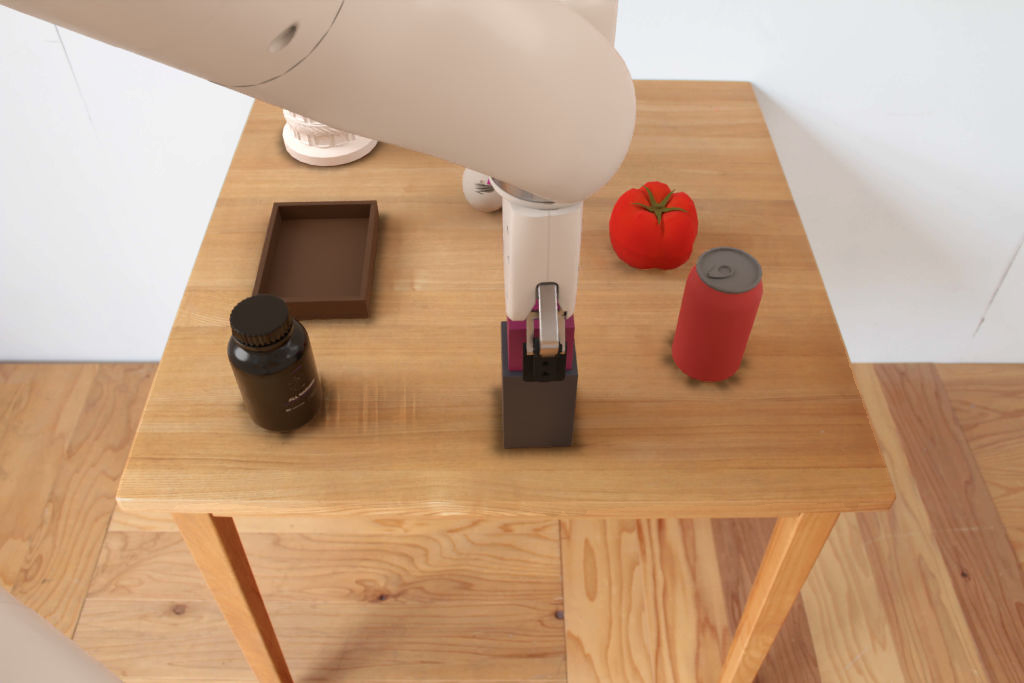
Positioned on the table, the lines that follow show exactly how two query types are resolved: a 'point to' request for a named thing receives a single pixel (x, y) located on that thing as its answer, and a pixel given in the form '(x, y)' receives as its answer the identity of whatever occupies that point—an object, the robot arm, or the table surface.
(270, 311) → the supplement bottle
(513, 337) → the top block
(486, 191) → the figurine
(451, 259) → the table surface
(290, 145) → the white tower model
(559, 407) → the bottom block
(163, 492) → the table surface
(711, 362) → the beer can
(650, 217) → the tomato
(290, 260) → the tray
